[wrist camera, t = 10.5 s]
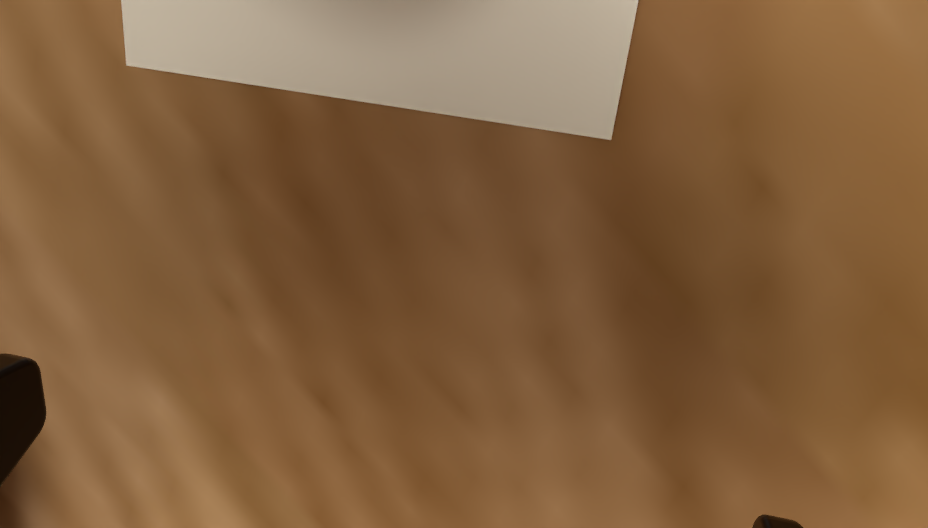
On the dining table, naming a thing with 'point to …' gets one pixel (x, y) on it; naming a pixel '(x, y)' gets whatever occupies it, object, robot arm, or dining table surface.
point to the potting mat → (405, 53)
